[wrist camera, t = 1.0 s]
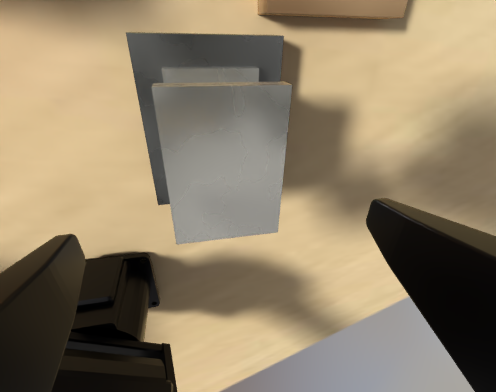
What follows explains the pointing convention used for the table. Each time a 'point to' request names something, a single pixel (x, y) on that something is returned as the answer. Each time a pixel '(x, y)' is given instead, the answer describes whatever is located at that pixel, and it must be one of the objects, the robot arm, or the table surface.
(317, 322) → the table surface
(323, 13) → the stand
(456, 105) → the table surface
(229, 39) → the stand
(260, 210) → the block
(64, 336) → the robot arm
